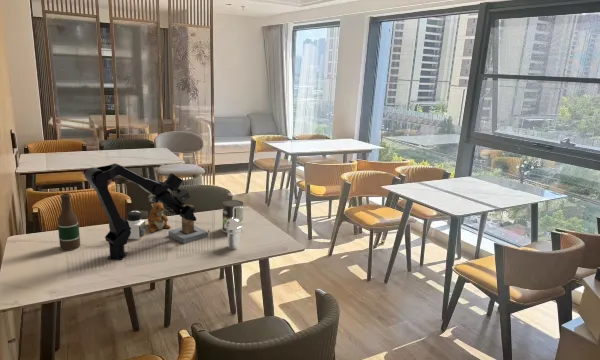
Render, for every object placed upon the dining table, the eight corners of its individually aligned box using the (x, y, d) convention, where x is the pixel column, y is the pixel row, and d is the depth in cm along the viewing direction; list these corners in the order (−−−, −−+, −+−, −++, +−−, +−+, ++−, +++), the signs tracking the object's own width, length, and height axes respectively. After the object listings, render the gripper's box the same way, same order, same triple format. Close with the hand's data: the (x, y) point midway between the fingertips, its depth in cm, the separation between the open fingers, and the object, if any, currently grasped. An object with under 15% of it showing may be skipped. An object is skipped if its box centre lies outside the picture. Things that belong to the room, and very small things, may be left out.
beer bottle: (72, 252, 179) (66, 197, 173) (56, 249, 181) (50, 195, 175) (84, 245, 187) (79, 192, 181) (69, 242, 188) (63, 191, 182)
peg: (186, 238, 199) (186, 208, 195) (182, 236, 201) (181, 206, 198) (194, 236, 201) (193, 206, 198) (189, 234, 204) (188, 204, 200)
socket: (183, 243, 192) (183, 238, 192) (168, 235, 201) (168, 230, 200) (207, 236, 202) (207, 231, 201) (192, 229, 210) (192, 224, 210)
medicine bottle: (140, 239, 195) (138, 215, 192) (124, 239, 195) (123, 214, 192) (145, 234, 202) (144, 210, 199) (130, 233, 202) (129, 209, 199)
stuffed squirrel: (151, 233, 203) (150, 207, 199) (142, 224, 213) (141, 199, 210) (172, 229, 209) (171, 204, 205) (161, 221, 219) (161, 196, 216)
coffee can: (225, 234, 205) (225, 207, 202) (220, 227, 214) (220, 200, 211) (245, 232, 210) (246, 205, 206) (239, 225, 219) (240, 199, 215)
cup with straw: (232, 241, 198) (232, 200, 192) (247, 246, 193) (248, 204, 188) (220, 247, 190) (219, 205, 185) (235, 252, 186) (236, 209, 181)
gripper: (190, 189, 186) (211, 208, 197) (168, 181, 198) (189, 199, 209) (175, 210, 182) (197, 228, 193) (153, 200, 194) (175, 217, 205)
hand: (190, 217), depth 200 cm, fingers open, 9 cm apart
